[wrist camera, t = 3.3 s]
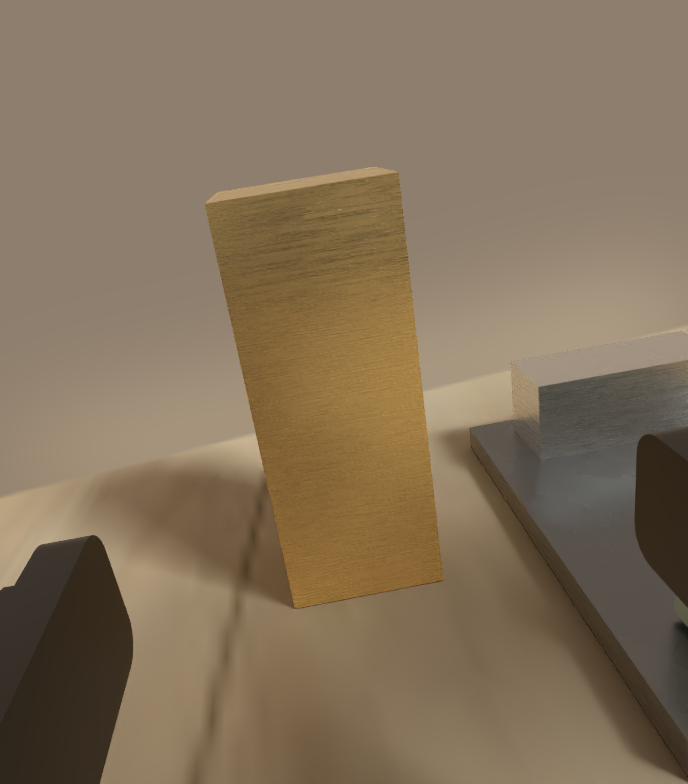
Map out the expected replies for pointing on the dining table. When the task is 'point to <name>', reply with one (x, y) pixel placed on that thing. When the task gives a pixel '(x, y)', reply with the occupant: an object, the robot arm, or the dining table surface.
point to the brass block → (332, 377)
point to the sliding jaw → (681, 610)
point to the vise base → (600, 501)
